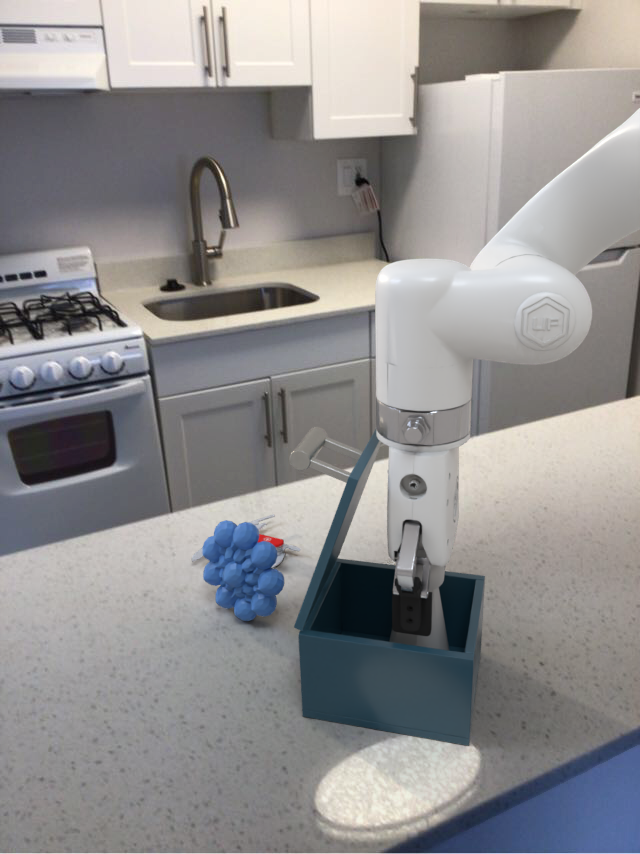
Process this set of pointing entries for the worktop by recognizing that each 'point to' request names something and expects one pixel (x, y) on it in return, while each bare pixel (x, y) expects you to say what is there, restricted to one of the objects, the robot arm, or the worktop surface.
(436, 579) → the salt shaker
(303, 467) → the lid
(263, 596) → the grapes
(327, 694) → the teal box
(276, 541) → the swiss army knife
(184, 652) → the worktop surface
